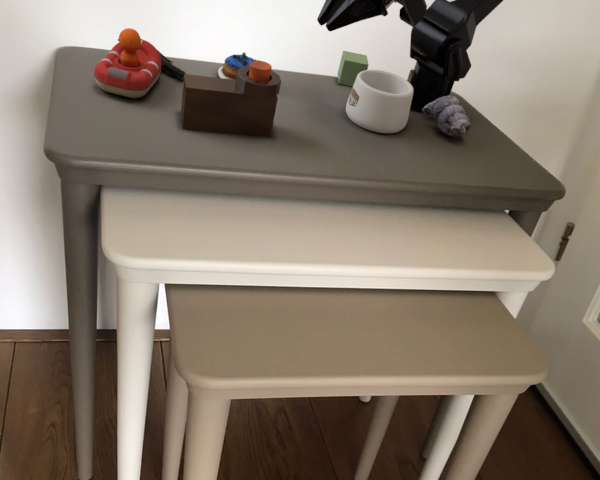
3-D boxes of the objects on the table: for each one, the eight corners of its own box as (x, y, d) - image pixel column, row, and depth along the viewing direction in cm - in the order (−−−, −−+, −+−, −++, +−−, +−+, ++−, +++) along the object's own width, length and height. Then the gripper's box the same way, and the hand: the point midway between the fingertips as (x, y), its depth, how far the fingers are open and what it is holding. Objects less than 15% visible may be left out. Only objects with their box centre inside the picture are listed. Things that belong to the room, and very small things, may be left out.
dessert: (220, 83, 99) (225, 42, 98) (213, 92, 105) (216, 53, 104) (272, 94, 101) (277, 53, 101) (261, 101, 107) (266, 63, 107)
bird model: (110, 28, 99) (107, 46, 101) (182, 72, 97) (178, 89, 98) (124, 26, 101) (121, 43, 103) (195, 69, 99) (190, 85, 101)
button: (267, 74, 89) (270, 61, 88) (271, 83, 87) (273, 70, 86) (247, 72, 88) (249, 59, 87) (249, 81, 86) (251, 68, 85)
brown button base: (267, 120, 95) (277, 68, 90) (274, 140, 91) (284, 87, 86) (180, 111, 92) (184, 57, 87) (182, 131, 88) (187, 76, 83)
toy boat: (165, 75, 99) (170, 22, 94) (143, 106, 91) (146, 51, 86) (115, 61, 99) (117, 8, 94) (87, 92, 90) (88, 35, 85)
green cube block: (360, 78, 113) (366, 55, 110) (362, 88, 110) (368, 64, 107) (337, 74, 112) (343, 50, 110) (338, 83, 110) (344, 59, 107)
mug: (414, 137, 101) (427, 99, 97) (355, 133, 97) (366, 94, 93) (387, 100, 109) (398, 64, 105) (332, 95, 106) (341, 58, 102)
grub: (423, 119, 109) (454, 154, 103) (415, 95, 104) (446, 130, 98) (452, 101, 108) (484, 134, 102) (444, 76, 104) (478, 109, 98)
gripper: (342, -141, 84) (256, -48, 86) (441, -95, 75) (342, 9, 76) (371, -69, 94) (293, 14, 95) (463, -20, 84) (375, 71, 86)
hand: (323, 25), depth 88 cm, fingers closed
